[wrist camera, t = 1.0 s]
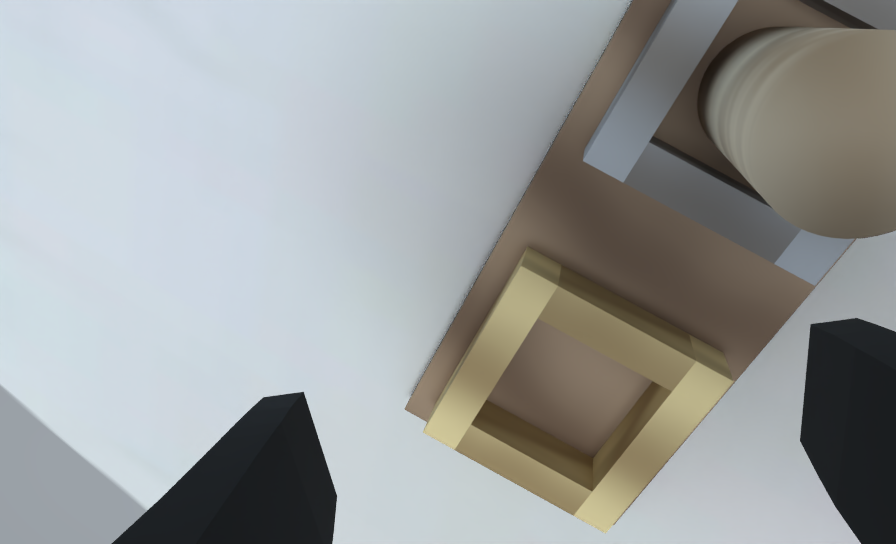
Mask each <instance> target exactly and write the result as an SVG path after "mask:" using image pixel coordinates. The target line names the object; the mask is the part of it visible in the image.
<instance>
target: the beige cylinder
mask: <svg viewBox="0 0 896 544" xmlns="http://www.w3.org/2000/svg"><path fill="white" fill-rule="evenodd" d="M697 109H698V116H699V120H700V123H701V125H702V128H703V130H704V132H705V133H706V135H707V136H708V138H709V139H710V140H711V141H712V142H713V144H714V145H715V146H716V147H717V148H718V149H719V150H720V151H721V152H722V153H723V155H724V156H725V157H726V158H727V159H728V160H729V161H730V162H731V163H732V164H733V166H734V167H735V168H736V169H737V170H738V171H739V172H740V173H741V174H742V175H743V177H744V178H745V179H746V180H747V181H748V182H749V183H750V184H751V185H752V186H753V188H754V189H755V190H756V191H757V192H758V193H759V194H760V195H761V196H762V197H763V199H764V200H765V201H766V202H767V203H768V204H769V205H770V206H771V207H772V208H773V210H774V211H775V212H776V213H778V214H779V215H780V216H781V217H782V218H784V219H785V220H786V221H788V222H789V223H791V224H793V225H794V226H796V227H798V228H800V229H802V230H805V231H807V232H810V233H813V234H816V235H819V236H825V237H830V238H840V239H856V238H867V237H873V236H878V235H882V234H885V233H889V232H892V231H895V230H896V30H878V29H846V28H814V27H766V28H761V29H758V30H754V31H751V32H749V33H746V34H744V35H742V36H740V37H738V38H737V39H735V40H734V41H732V42H731V43H729V44H728V45H727V46H726V47H724V48H723V49H722V50H721V51H720V52H719V53H718V54H717V55H716V56H715V58H714V59H713V60H712V62H711V63H710V64H709V66H708V68H707V69H706V71H705V73H704V75H703V78H702V80H701V83H700V87H699V90H698V98H697Z"/></svg>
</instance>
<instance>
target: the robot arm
mask: <svg viewBox="0 0 896 544" xmlns="http://www.w3.org/2000/svg"><path fill="white" fill-rule="evenodd" d="M800 442H801V443H802V445H803V447H804V449H805V451H806V453H807V455H808V457H809V459H810V461H811V463H812V465H813V467H814V469H815V471H816V472H817V474H818V476H819V478H820V480H821V482H822V484H823V485H824V487H825V489H826V491H827V492H828V494H829V496H830V498H831V500H832V501H833V503H834V505H835V507H836V508H837V510H838V511H839V513H840V514H841V515H842V517H843V518H844V520H845V521H846V523H847V524H848V525H849V527H850V528H851V530H852V531H853V533H854V534H855V535H856V537H857V538H858V540H859V541H860V542H861V544H896V332H894V331H892V330H889V329H887V328H884V327H881V326H878V325H876V324H873V323H870V322H867V321H864V320H861V319H858V318H855V319H847V320H840V321H832V322H825V323H817V324H811V327H810V338H809V349H808V360H807V371H806V382H805V393H804V404H803V415H802V426H801V437H800ZM336 501H337V495H336V492H335V489H334V485H333V482H332V479H331V476H330V473H329V470H328V467H327V464H326V460H325V457H324V454H323V451H322V448H321V445H320V442H319V439H318V435H317V432H316V429H315V426H314V423H313V420H312V417H311V414H310V410H309V407H308V404H307V401H306V398H305V395H304V392H300V393H293V394H285V395H278V396H270V397H264V398H262V399H261V400H260V401H259V402H258V403H257V404H256V405H255V406H253V407H252V408H251V409H250V410H249V411H248V412H247V413H246V414H245V415H244V416H243V417H242V418H241V419H240V420H239V421H238V422H237V423H236V424H235V425H234V426H233V427H232V428H231V429H230V430H229V431H228V432H227V433H226V434H225V435H224V436H223V437H222V438H221V439H220V440H219V441H218V442H217V443H216V444H215V445H214V446H213V447H212V448H211V449H210V450H209V451H208V452H207V453H206V454H205V455H204V456H203V457H202V458H201V459H200V460H199V461H198V462H197V463H196V464H195V465H194V466H193V467H192V468H191V469H190V470H189V471H188V472H187V473H186V474H185V475H184V476H183V477H182V478H181V479H180V480H179V481H178V482H177V483H176V484H175V485H174V486H173V487H172V488H171V489H170V490H169V491H168V492H167V493H166V494H165V495H164V496H163V497H162V498H161V499H160V500H159V501H158V502H156V503H155V504H154V505H153V506H152V507H151V508H150V509H149V510H148V511H147V512H146V513H144V514H143V515H142V516H141V517H140V518H139V519H138V520H137V521H136V522H135V523H134V524H133V525H132V526H130V527H129V528H128V529H127V530H126V531H125V532H124V533H123V534H122V535H121V536H120V537H119V538H117V539H116V540H115V541H114V542H113V543H112V544H332V541H333V533H334V522H335V512H336Z"/></svg>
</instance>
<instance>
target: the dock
mask: <svg viewBox="0 0 896 544" xmlns="http://www.w3.org/2000/svg"><path fill="white" fill-rule="evenodd" d="M766 27H814V28H846V29H878V30H896V0H633V1H632V2H631V4H630V6H629V8H628V10H627V11H626V13H625V15H624V17H623V19H622V20H621V22H620V24H619V26H618V28H617V29H616V31H615V33H614V35H613V36H612V38H611V40H610V42H609V44H608V45H607V47H606V49H605V51H604V53H603V54H602V56H601V58H600V60H599V61H598V63H597V65H596V67H595V69H594V70H593V72H592V74H591V76H590V78H589V79H588V81H587V83H586V85H585V86H584V88H583V90H582V92H581V94H580V95H579V97H578V99H577V101H576V103H575V104H574V106H573V108H572V110H571V112H570V113H569V115H568V117H567V119H566V120H565V122H564V124H563V126H562V128H561V129H560V131H559V133H558V135H557V137H556V138H555V140H554V142H553V144H552V145H551V147H550V149H549V151H548V153H547V154H546V156H545V158H544V160H543V162H542V163H541V165H540V167H539V169H538V170H537V172H536V174H535V176H534V178H533V179H532V181H531V183H530V185H529V187H528V188H527V190H526V192H525V194H524V196H523V197H522V199H521V201H520V203H519V204H518V206H517V208H516V210H515V212H514V213H513V215H512V217H511V219H510V221H509V222H508V224H507V226H506V228H505V229H504V231H503V233H502V235H501V237H500V238H499V240H498V242H497V244H496V246H495V247H494V249H493V251H492V253H491V254H490V256H489V258H488V260H487V262H486V263H485V265H484V267H483V269H482V271H481V272H480V274H479V276H478V278H477V280H476V281H475V283H474V285H473V287H472V288H471V290H470V292H469V294H468V296H467V297H466V299H465V301H464V303H463V305H462V306H461V308H460V310H459V312H458V313H457V315H456V317H455V319H454V321H453V322H452V324H451V326H450V328H449V330H448V331H447V333H446V335H445V337H444V338H443V340H442V342H441V344H440V346H439V347H438V349H437V351H436V353H435V355H434V356H433V358H432V360H431V362H430V364H429V365H428V367H427V369H426V371H425V372H424V374H423V376H422V378H421V380H420V381H419V383H418V385H417V387H416V389H415V390H414V392H413V394H412V396H411V398H410V400H409V401H408V403H407V405H406V407H405V410H407V411H408V412H410V413H412V414H414V415H416V416H417V417H419V418H421V419H423V420H425V421H426V422H427V424H426V426H425V428H424V431H423V433H425V434H427V435H429V436H430V437H432V438H434V439H436V440H438V441H439V442H441V443H443V444H445V445H447V446H448V447H450V448H452V449H454V450H456V451H458V452H459V453H461V454H463V455H465V456H467V457H468V458H470V459H472V460H474V461H476V462H477V463H479V464H481V465H483V466H485V467H486V468H488V469H490V470H492V471H494V472H495V473H497V474H499V475H501V476H503V477H504V478H506V479H508V480H510V481H512V482H514V483H515V484H517V485H519V486H521V487H523V488H524V489H526V490H528V491H530V492H532V493H533V494H535V495H537V496H539V497H541V498H542V499H544V500H546V501H548V502H550V503H551V504H553V505H555V506H557V507H559V508H561V509H562V510H564V511H566V512H568V513H570V514H571V515H573V516H575V517H577V518H579V519H580V520H582V521H584V522H586V523H588V524H589V525H591V526H593V527H595V528H597V529H598V530H600V531H602V532H604V533H606V532H607V531H608V530H609V529H610V528H611V526H612V525H614V524H615V523H616V522H617V521H618V519H619V518H620V517H621V516H622V515H623V514H624V512H625V511H626V510H627V509H628V508H629V507H630V505H631V504H632V503H633V502H634V501H635V499H636V498H637V497H638V496H639V495H640V494H641V492H642V491H643V490H644V489H645V488H646V486H647V485H648V484H649V483H650V482H651V481H652V479H653V478H654V477H655V476H656V475H657V473H658V472H659V471H660V470H661V469H662V468H663V466H664V465H665V464H666V463H667V462H668V460H669V459H670V458H671V457H672V456H673V455H674V453H675V452H676V451H677V450H678V449H679V447H680V446H681V445H682V444H683V443H684V442H685V440H686V439H687V438H688V437H689V436H690V434H691V433H692V432H693V431H694V430H695V429H696V427H697V426H698V425H699V424H700V423H701V422H702V420H703V419H704V418H705V417H706V416H707V414H708V413H709V412H710V411H711V410H712V409H713V407H714V406H715V405H716V404H717V403H718V401H719V400H720V399H721V398H722V397H723V396H724V394H725V393H726V392H727V391H728V390H729V388H730V387H731V386H732V385H733V384H734V383H735V381H736V380H737V379H738V378H739V377H740V375H741V374H742V373H743V372H744V371H745V370H746V368H747V367H748V366H749V365H750V364H751V362H752V361H753V360H754V359H755V358H756V357H757V355H758V354H759V353H760V352H761V351H762V350H763V348H764V347H765V346H766V345H767V344H768V342H769V341H770V340H771V339H772V338H773V337H774V335H775V334H776V333H777V332H778V331H779V329H780V328H781V327H782V326H783V325H784V324H785V322H786V321H787V320H788V319H789V318H790V316H791V315H792V314H793V313H794V312H795V311H796V309H797V308H798V307H799V306H800V305H801V303H802V302H803V301H804V300H805V299H806V298H807V296H808V295H809V294H810V293H811V292H812V290H813V289H814V288H815V287H816V286H817V285H818V283H819V282H820V281H821V280H822V279H823V278H824V276H825V275H826V274H827V273H828V272H829V270H830V269H831V268H832V267H833V266H834V265H835V263H836V262H837V261H838V260H839V259H840V257H841V256H842V255H843V254H844V253H845V252H846V250H847V249H848V248H849V247H850V246H851V244H852V243H853V242H854V241H855V240H856V239H857V238H856V239H840V238H830V237H825V236H819V235H816V234H813V233H810V232H807V231H805V230H802V229H800V228H798V227H796V226H794V225H793V224H791V223H789V222H788V221H786V220H785V219H784V218H782V217H781V216H780V215H779V214H778V213H776V212H775V211H774V210H773V208H772V207H771V206H770V205H769V204H768V203H767V202H766V201H765V200H764V199H763V197H762V196H761V195H760V194H759V193H758V192H757V191H756V190H755V189H754V188H753V186H752V185H751V184H750V183H749V182H748V181H747V180H746V179H745V178H744V177H743V175H742V174H741V173H740V172H739V171H738V170H737V169H736V168H735V167H734V166H733V164H732V163H731V162H730V161H729V160H728V159H727V158H726V157H725V156H724V155H723V153H722V152H721V151H720V150H719V149H718V148H717V147H716V146H715V145H714V144H713V142H712V141H711V140H710V139H709V138H708V136H707V135H706V133H705V132H704V130H703V128H702V125H701V123H700V120H699V116H698V109H697V98H698V90H699V87H700V83H701V80H702V78H703V75H704V73H705V71H706V69H707V68H708V66H709V64H710V63H711V62H712V60H713V59H714V58H715V56H716V55H717V54H718V53H719V52H720V51H721V50H722V49H723V48H724V47H726V46H727V45H728V44H729V43H731V42H732V41H734V40H735V39H737V38H738V37H740V36H742V35H744V34H746V33H749V32H751V31H754V30H758V29H761V28H766Z"/></svg>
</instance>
